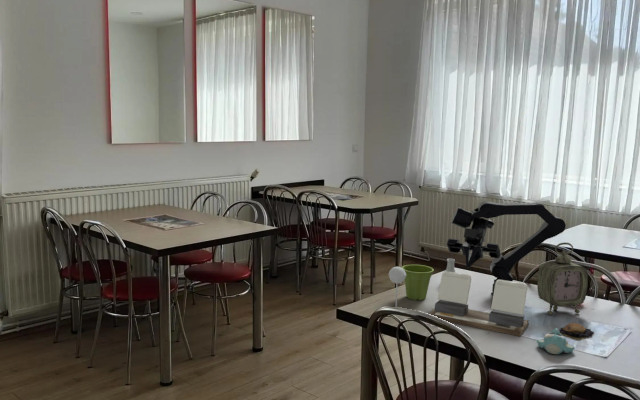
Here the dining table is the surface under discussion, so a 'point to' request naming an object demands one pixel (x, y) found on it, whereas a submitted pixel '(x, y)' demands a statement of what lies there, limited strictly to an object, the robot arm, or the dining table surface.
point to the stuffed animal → (555, 343)
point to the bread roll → (576, 331)
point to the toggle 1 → (454, 287)
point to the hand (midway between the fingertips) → (467, 267)
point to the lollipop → (397, 277)
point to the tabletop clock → (562, 282)
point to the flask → (450, 265)
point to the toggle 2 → (509, 297)
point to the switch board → (480, 318)
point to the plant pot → (417, 281)
